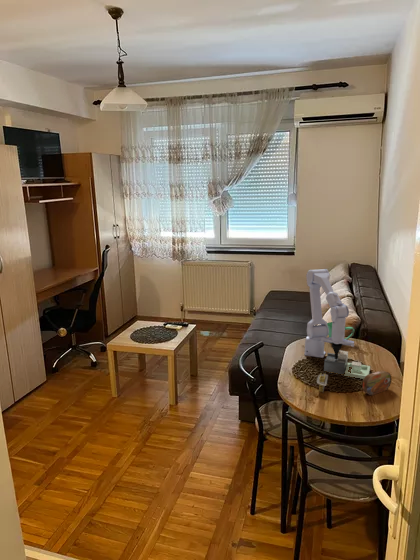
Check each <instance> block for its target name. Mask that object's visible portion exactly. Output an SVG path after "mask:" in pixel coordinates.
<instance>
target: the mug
mask: <svg viewBox="0 0 420 560" xmlns="http://www.w3.org/2000/svg"><path fill="white" fill-rule="evenodd" d="M327 325H328V328H329V334H328V337H331V335H332V321H329V322H327ZM346 330H347V331H348V330H351V334H349V335H348V336H347V337H344V339H346V340H349V339H351V338H352V337H353V336H354V333H355V329H354V327H353V326H345V331H346Z"/></svg>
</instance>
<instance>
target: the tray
mask: <svg viewBox="0 0 420 560" xmlns="http://www.w3.org/2000/svg"><path fill="white" fill-rule="evenodd" d="M349 367H352V362H347V367H346V370H345V374H344V376H350V377H355V378H360V379H359V380H361V379H364V378H365V377H366V376H367V375H368V374H370V373H371V372H370V371H371V365H366V364H361V374H356V373H350V372H348V370H349ZM355 378H354V379H355Z"/></svg>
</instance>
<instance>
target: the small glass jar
mask: <svg viewBox="0 0 420 560" xmlns="http://www.w3.org/2000/svg"><path fill="white" fill-rule="evenodd" d="M328 378H329V374H326V373H323V374H322V373H321V374H318V375H317V378H316V383H317V384H318V385H319V386H318V391H319V392H322V393H324V391H325V386H327V384H328Z"/></svg>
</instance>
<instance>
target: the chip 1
mask: <svg viewBox="0 0 420 560" xmlns="http://www.w3.org/2000/svg"><path fill="white" fill-rule="evenodd" d="M348 359H349V351H345V350H341V349H340V350H339V352H338V360H337V361H342V362H345V363H346V362H347V363H348Z"/></svg>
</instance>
